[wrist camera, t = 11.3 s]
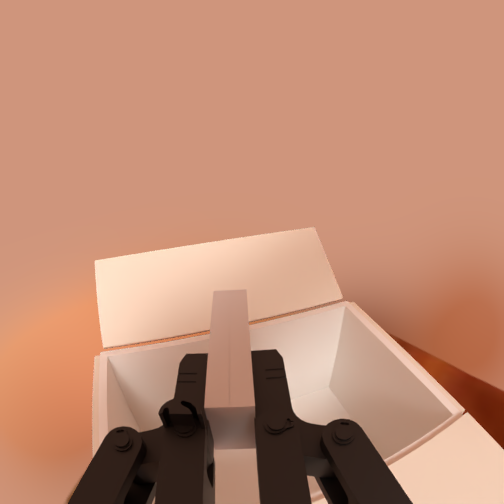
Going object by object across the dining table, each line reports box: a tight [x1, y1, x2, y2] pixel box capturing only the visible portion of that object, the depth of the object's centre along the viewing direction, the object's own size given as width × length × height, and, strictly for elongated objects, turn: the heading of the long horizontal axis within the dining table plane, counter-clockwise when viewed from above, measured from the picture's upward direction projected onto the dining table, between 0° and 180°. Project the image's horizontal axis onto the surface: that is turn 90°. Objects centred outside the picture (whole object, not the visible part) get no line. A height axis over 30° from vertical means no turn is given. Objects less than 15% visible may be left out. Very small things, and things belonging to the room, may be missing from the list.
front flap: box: [95, 227, 343, 349], centre depth 35 cm, size 27×10×1 cm
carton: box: [92, 301, 504, 504], centre depth 23 cm, size 29×30×16 cm
